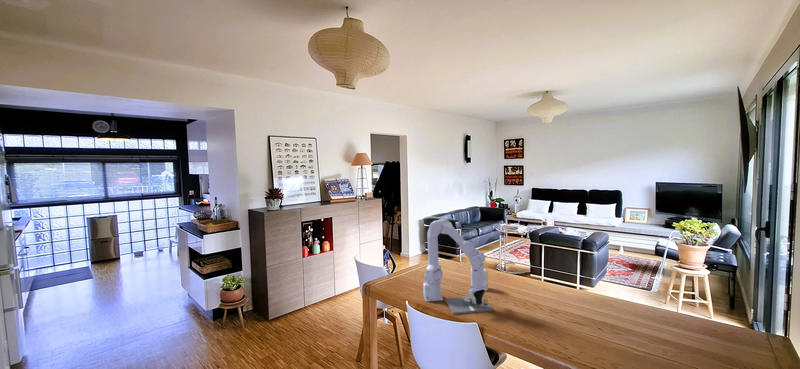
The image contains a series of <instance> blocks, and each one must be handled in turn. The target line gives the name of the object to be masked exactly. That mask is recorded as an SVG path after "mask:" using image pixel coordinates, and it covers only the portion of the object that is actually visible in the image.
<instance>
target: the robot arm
mask: <svg viewBox="0 0 800 369" xmlns="http://www.w3.org/2000/svg"><path fill="white" fill-rule="evenodd" d="M440 234H443V235H448V236H449V237H450V238H451V239H453V240H454V242H456V244H457V245H459V249H460V251H461V252H462V253H463V254H464V255H465V256H466V257H467V258H468V259H469V260H468V261H469V263H470V265H471V268H472V286H470V288H469V289H468V295H470V296H475V299H476V304H478V305H481V302H482V297H483V298H484V294H485V292H486V291H485V289H486V287H485V286H488V287H489V284H488V285H487V282H485V281H484V269H485V267H484V262H485V261H486V256H485V254H484V253H483V252H482V251H480V250H478V249H476V247H475V246H474V245H473V242H471V241H469V240H465V239H464V238H463V236H461V235H460V233H459V232H458V231H457V229H456V228H455V227H454V226H453V224H452V222H451V221H450V220H449V219H448V218H445V217H442V218H440V219H438V220H433V221H431V223H430V224H429V228H428V230H427V233H426V235H427V237H426V238H427V239H426V240H427V258H428V259H427V261H428V262H427V264H428V265H427V267H426V268H425V273H424V281H425V282H423V283H422V285H423V286H422V288H423V291H422V292H423V293H422V294H423V298H424V300H425V302H437V301H444V298H443V296H442V287H441V285H442V283H441V281H442V277H443V271H442V266H441V265H440V264H439V242H438V237H439V235H440Z"/></svg>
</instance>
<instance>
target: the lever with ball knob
mask: <svg viewBox="0 0 800 369" xmlns="http://www.w3.org/2000/svg"><path fill="white" fill-rule="evenodd" d="M472 296H473V295H470V294H467V295H463V296H462V297H463V302H465V303H476V299H475V298H473V297H472ZM488 303H489V302H488V299H487V298H484V299H482V302H481V304H482V305H485V306H487V305H488Z"/></svg>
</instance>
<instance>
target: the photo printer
mask: <svg viewBox="0 0 800 369" xmlns="http://www.w3.org/2000/svg"><path fill="white" fill-rule="evenodd" d="M488 275H489V274H488V270H487V269H485V268H484V281H485V282H487V285H488V286H485V287H486V289H485V292H487V291H488V290H489V276H488ZM470 285H471V286H472V267H471V268H470ZM471 286H470V287H471Z"/></svg>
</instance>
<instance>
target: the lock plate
mask: <svg viewBox="0 0 800 369" xmlns="http://www.w3.org/2000/svg"><path fill="white" fill-rule="evenodd" d="M471 296H472V297H473V298H475V296H474V295H471ZM482 299H485V298H484V296H483V297H482ZM444 301H445V302H446V305H447V306H448V308H449V310H450V312H451V313H452V315H462V314H463V315H464V314H472V313H473V314H474V313H475V312H476V313H483V312H484V313H485V312H494V308H493V307H492V306H491V304H489V302H488V305H487V306H485V305H482V304H481V305H478V304H476V303H465V302H463V296H460V297H459V296H457V297H450V298H449V297H448V298H444Z"/></svg>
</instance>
